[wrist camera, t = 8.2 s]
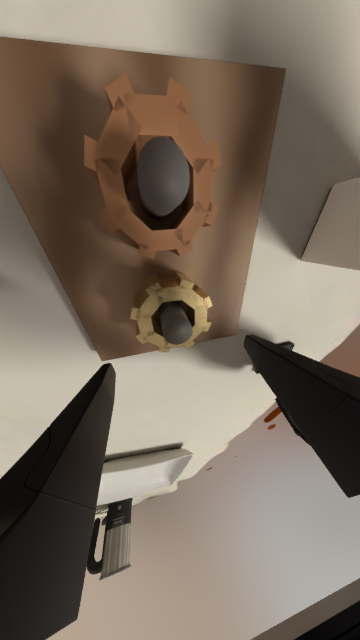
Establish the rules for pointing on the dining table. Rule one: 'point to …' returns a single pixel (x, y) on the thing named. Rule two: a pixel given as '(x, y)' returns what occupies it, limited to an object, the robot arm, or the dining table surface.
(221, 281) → the gear board
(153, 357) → the dining table surface
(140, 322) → the wooden gear
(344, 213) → the milk carton
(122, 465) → the square plate
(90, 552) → the milk frother
